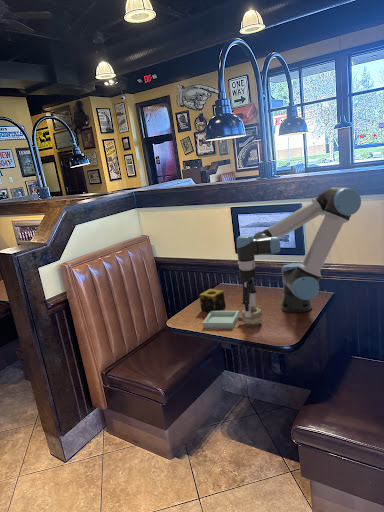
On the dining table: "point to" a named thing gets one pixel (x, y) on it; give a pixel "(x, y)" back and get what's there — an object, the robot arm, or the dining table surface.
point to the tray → (221, 320)
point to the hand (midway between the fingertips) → (250, 311)
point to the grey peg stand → (252, 324)
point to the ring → (254, 318)
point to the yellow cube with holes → (212, 300)
